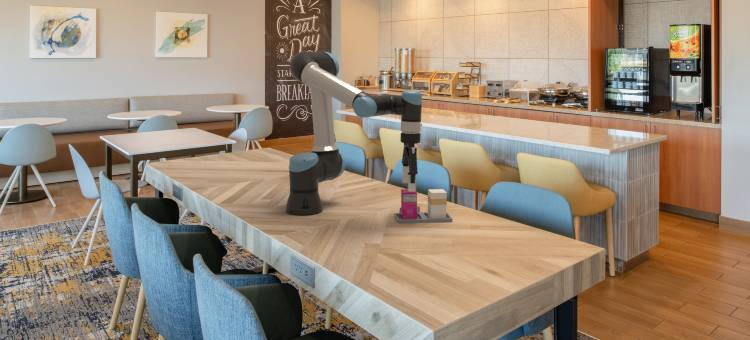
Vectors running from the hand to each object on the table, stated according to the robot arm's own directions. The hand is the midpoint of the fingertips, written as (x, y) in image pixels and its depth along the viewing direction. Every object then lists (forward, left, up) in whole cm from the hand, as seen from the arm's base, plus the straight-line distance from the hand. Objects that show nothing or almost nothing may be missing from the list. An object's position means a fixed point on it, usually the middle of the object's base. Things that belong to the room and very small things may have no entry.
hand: (408, 187), depth 222 cm
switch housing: (-4, +9, -14) cm, 17 cm away
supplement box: (0, 0, -13) cm, 13 cm away
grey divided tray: (+5, +3, -14) cm, 15 cm away
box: (+9, +7, -13) cm, 17 cm away
